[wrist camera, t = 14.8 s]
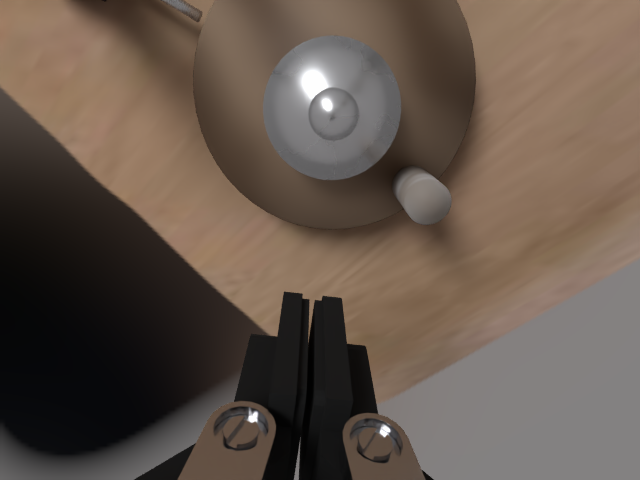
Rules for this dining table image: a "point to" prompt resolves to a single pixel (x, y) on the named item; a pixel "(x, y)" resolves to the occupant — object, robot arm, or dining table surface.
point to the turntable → (413, 82)
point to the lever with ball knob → (184, 8)
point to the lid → (332, 107)
